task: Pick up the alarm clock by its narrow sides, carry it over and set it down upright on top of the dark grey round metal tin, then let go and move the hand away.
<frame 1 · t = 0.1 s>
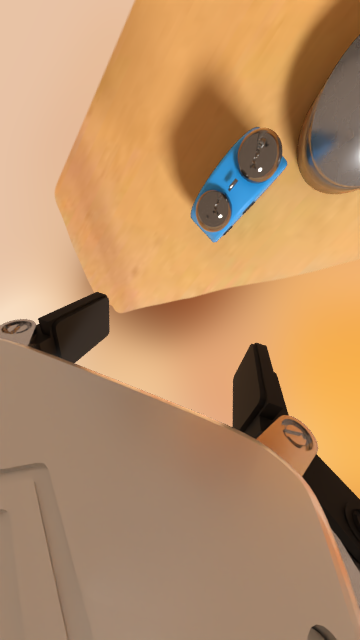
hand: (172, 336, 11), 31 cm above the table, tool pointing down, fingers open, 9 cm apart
round tin: (359, 128, 24), on the table
alarm clock: (234, 201, 32), on the table
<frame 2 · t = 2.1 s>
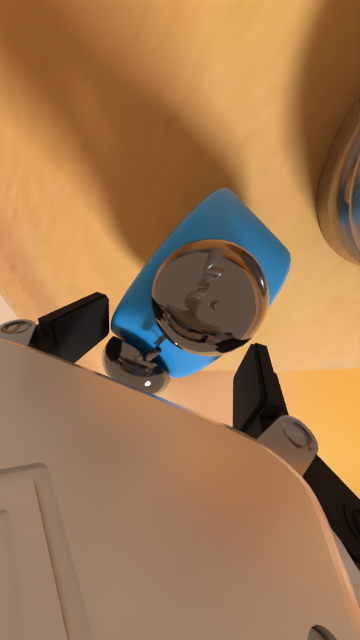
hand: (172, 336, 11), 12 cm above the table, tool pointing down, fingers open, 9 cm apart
alarm clock: (207, 267, 20), on the table, touching gripper
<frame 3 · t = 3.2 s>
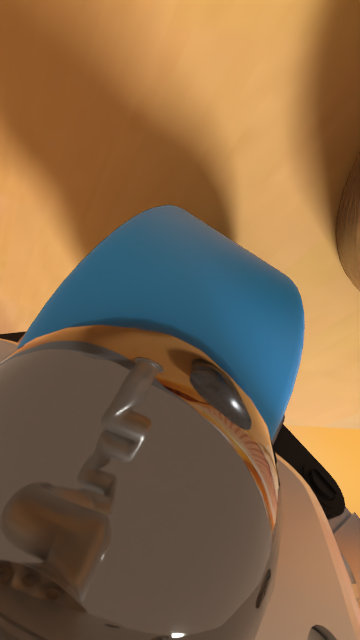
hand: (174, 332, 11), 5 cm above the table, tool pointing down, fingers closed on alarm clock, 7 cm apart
alarm clock: (191, 303, 16), on the table, touching gripper
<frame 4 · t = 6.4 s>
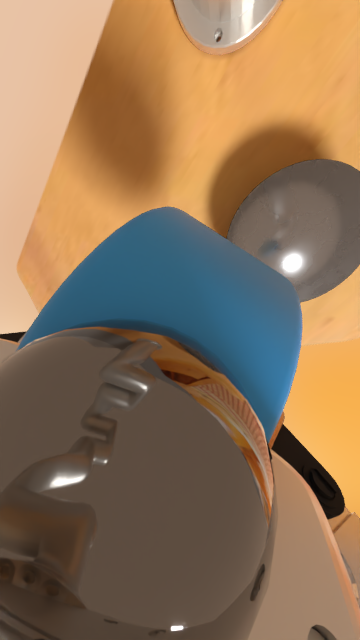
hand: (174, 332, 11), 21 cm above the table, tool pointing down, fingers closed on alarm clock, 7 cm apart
round tin: (280, 242, 25), on the table
alarm clock: (190, 304, 16), point 16 cm above the table, touching gripper
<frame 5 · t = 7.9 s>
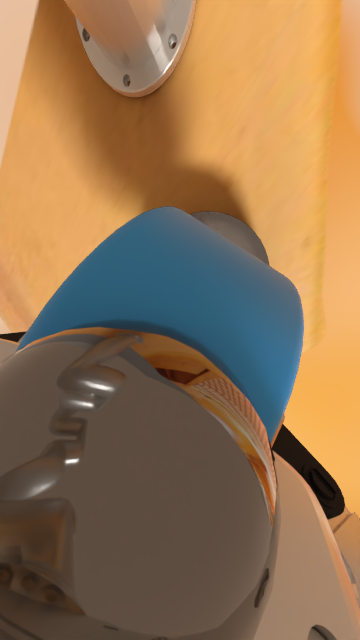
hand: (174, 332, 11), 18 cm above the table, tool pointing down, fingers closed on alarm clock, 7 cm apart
round tin: (208, 271, 26), on the table
alarm clock: (190, 304, 16), point 13 cm above the table, touching gripper
when the fingers open (12 cm above the table, at t = 9.4 s): alarm clock moves 1 cm, resting on round tin.
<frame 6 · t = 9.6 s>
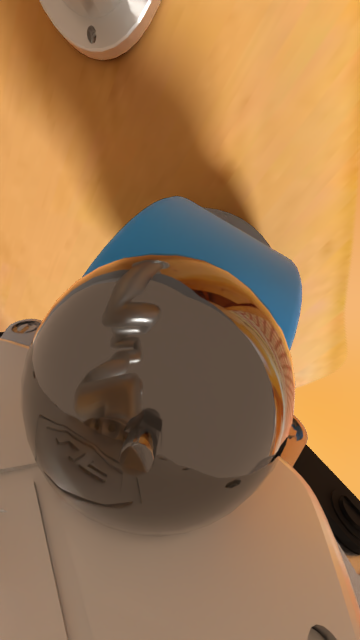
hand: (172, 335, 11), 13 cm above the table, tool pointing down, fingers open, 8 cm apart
round tin: (203, 283, 22), on the table
alarm clock: (194, 299, 17), point 6 cm above the table, touching round tin
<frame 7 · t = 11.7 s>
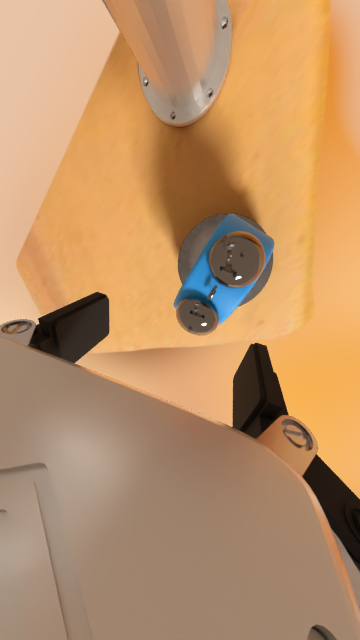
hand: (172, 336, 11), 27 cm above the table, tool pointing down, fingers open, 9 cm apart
round tin: (223, 261, 33), on the table
alarm clock: (222, 266, 28), point 6 cm above the table, touching round tin
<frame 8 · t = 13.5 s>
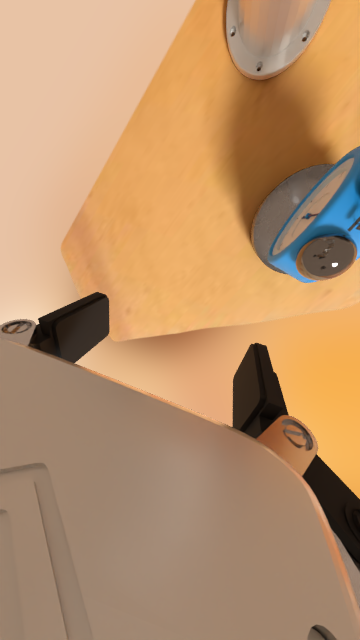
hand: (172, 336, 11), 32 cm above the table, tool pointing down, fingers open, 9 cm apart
round tin: (293, 227, 32), on the table
alarm clock: (305, 226, 27), point 6 cm above the table, touching round tin
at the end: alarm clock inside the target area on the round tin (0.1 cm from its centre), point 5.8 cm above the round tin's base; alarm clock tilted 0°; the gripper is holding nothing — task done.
